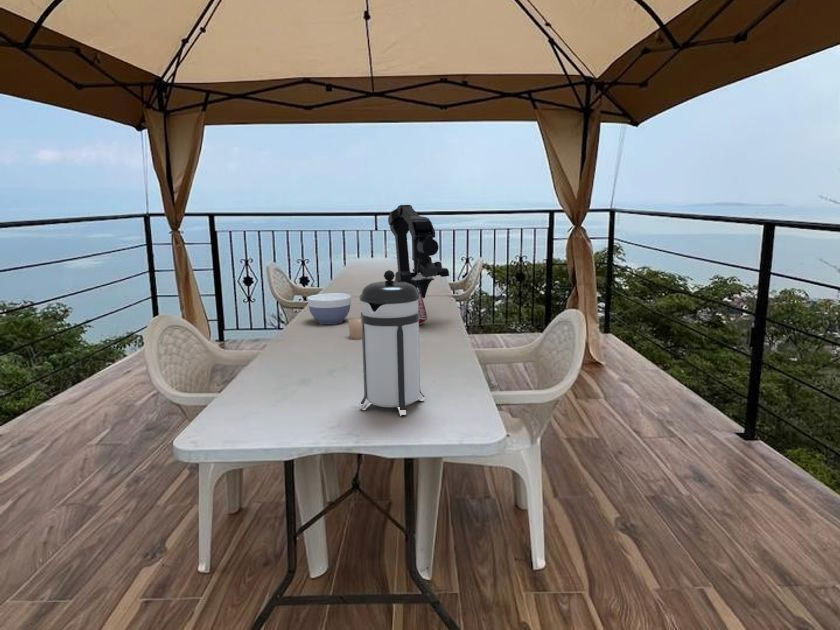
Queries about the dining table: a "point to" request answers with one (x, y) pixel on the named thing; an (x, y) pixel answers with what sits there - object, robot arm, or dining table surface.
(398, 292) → the coffee press
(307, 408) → the dining table surface
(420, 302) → the soda can
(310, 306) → the bowl
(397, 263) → the robot arm
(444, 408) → the dining table surface
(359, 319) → the tan block
